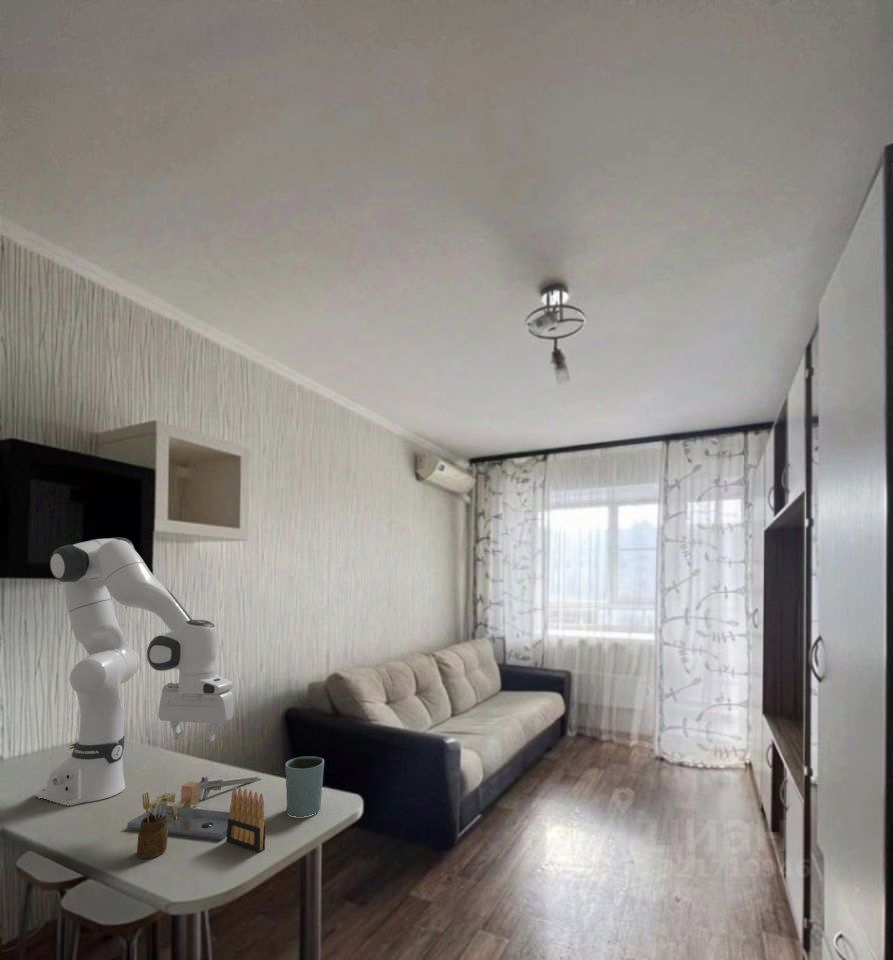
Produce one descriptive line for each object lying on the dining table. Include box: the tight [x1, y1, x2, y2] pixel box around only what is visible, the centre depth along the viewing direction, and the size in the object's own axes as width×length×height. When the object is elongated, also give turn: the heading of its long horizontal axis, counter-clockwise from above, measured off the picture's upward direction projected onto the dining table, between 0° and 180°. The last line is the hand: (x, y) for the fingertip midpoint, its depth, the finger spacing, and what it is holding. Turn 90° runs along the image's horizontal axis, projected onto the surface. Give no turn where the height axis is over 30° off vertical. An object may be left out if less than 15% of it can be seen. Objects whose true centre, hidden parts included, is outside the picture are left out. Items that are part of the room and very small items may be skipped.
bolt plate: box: [126, 792, 230, 841], centre depth 137 cm, size 26×10×5 cm, turn 77°
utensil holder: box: [136, 791, 169, 860], centre depth 125 cm, size 6×6×12 cm
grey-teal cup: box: [284, 755, 325, 817], centre depth 146 cm, size 10×10×12 cm
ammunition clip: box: [225, 785, 266, 854], centre depth 128 cm, size 11×2×12 cm, turn 61°
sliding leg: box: [173, 781, 201, 820], centre depth 139 cm, size 3×7×6 cm, turn 167°
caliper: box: [199, 775, 262, 803], centre depth 159 cm, size 20×1×6 cm, turn 146°
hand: (194, 739), depth 143 cm, fingers open, 8 cm apart
